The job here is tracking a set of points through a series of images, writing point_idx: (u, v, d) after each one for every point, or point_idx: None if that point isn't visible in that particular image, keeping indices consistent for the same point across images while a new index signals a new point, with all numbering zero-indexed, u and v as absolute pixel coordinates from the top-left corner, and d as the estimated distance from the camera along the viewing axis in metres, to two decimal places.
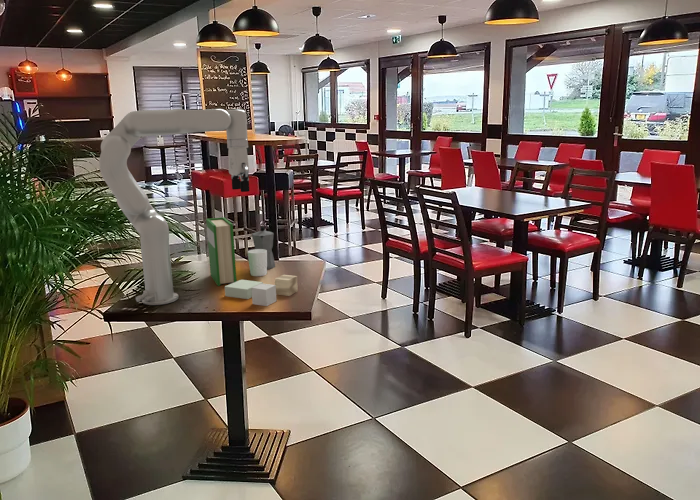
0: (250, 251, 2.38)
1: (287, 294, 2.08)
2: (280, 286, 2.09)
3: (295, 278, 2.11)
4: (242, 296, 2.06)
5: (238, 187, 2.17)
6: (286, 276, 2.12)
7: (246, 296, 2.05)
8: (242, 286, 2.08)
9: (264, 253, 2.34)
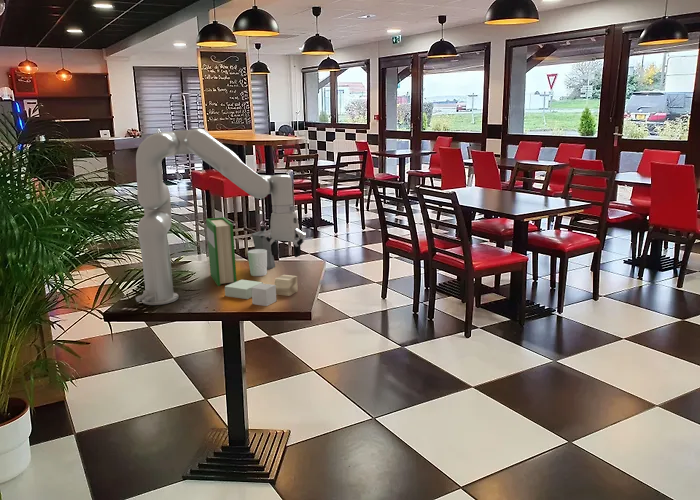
0: (250, 251, 2.38)
1: (287, 294, 2.08)
2: (280, 286, 2.09)
3: (295, 278, 2.11)
4: (242, 296, 2.06)
5: None
6: (286, 276, 2.12)
7: (245, 296, 2.05)
8: (242, 286, 2.08)
9: (264, 253, 2.34)
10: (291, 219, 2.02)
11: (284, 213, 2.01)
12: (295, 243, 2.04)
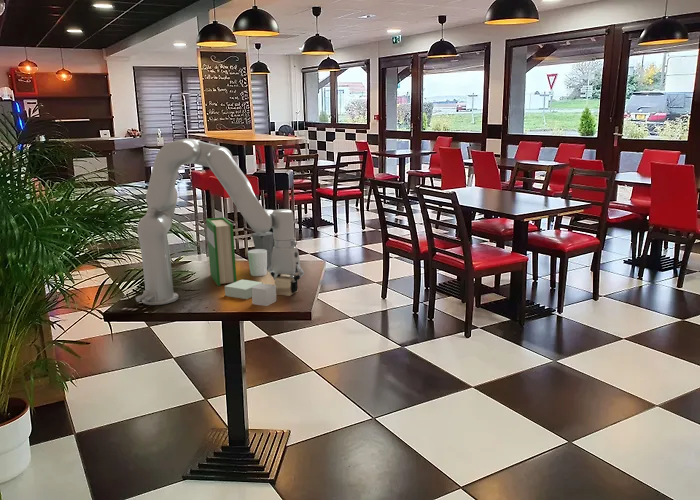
0: (250, 251, 2.38)
1: (287, 294, 2.08)
2: (280, 285, 2.09)
3: None
4: (241, 296, 2.06)
5: None
6: (286, 276, 2.12)
7: (245, 296, 2.05)
8: (242, 286, 2.08)
9: (264, 253, 2.34)
10: (292, 254, 2.05)
11: (285, 248, 2.04)
12: (293, 279, 2.08)
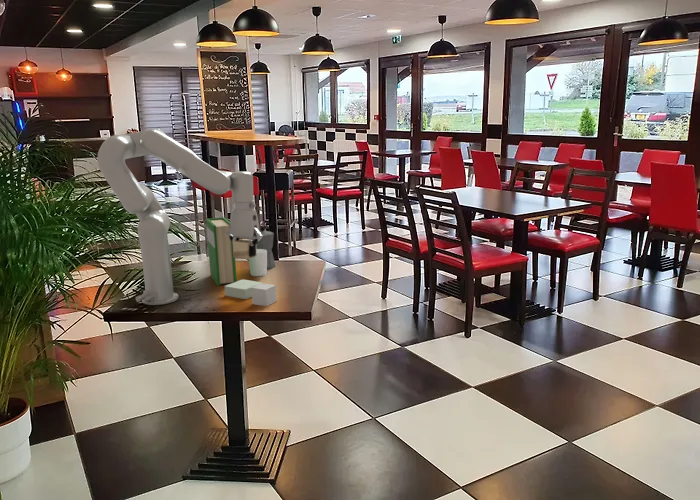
0: None
1: (245, 257, 2.05)
2: (238, 249, 2.05)
3: None
4: (241, 296, 2.06)
5: None
6: (245, 240, 2.09)
7: (244, 296, 2.05)
8: (241, 286, 2.08)
9: (264, 253, 2.34)
10: (250, 216, 2.02)
11: (243, 210, 2.01)
12: (251, 242, 2.04)
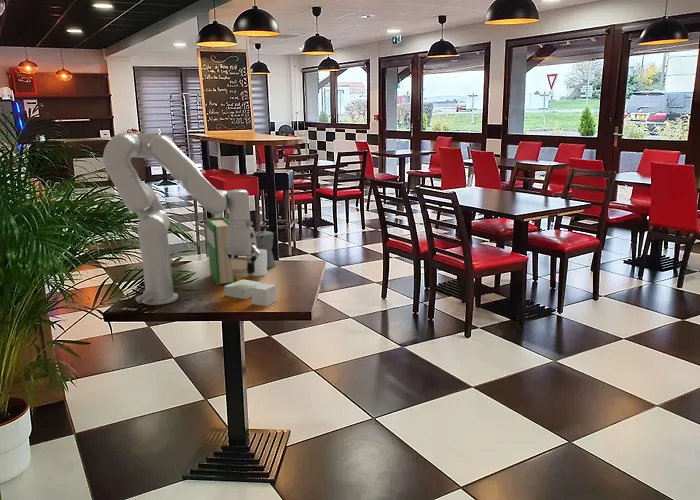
0: None
1: (244, 275, 2.06)
2: (237, 266, 2.07)
3: None
4: (240, 296, 2.06)
5: None
6: (243, 257, 2.10)
7: (244, 296, 2.05)
8: (241, 286, 2.08)
9: (264, 253, 2.34)
10: (247, 234, 2.03)
11: (240, 228, 2.02)
12: (249, 260, 2.06)
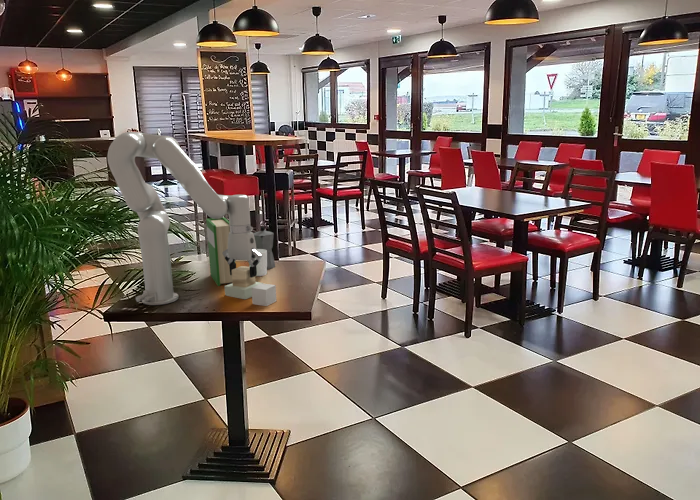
0: None
1: (244, 285, 2.07)
2: (237, 277, 2.08)
3: None
4: (240, 296, 2.06)
5: None
6: (243, 267, 2.11)
7: (243, 297, 2.05)
8: None
9: (264, 253, 2.34)
10: (248, 239, 2.04)
11: (241, 233, 2.03)
12: (251, 263, 2.06)
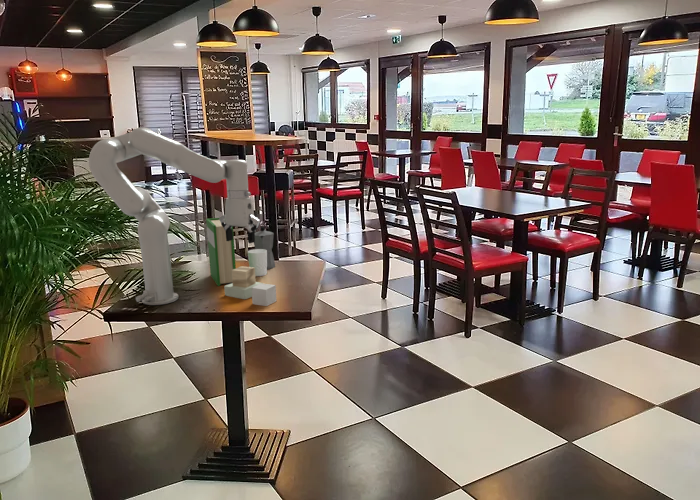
0: (250, 251, 2.38)
1: (244, 286, 2.07)
2: (237, 277, 2.08)
3: (253, 269, 2.10)
4: (240, 296, 2.06)
5: None
6: (243, 267, 2.11)
7: (243, 297, 2.05)
8: None
9: (264, 253, 2.34)
10: (245, 205, 2.01)
11: (238, 198, 2.00)
12: (249, 229, 2.03)
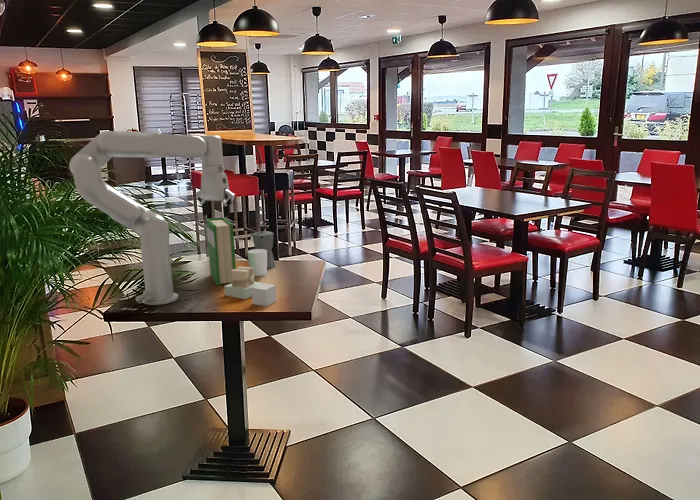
0: (250, 251, 2.38)
1: (244, 286, 2.07)
2: (237, 277, 2.07)
3: (252, 269, 2.10)
4: (240, 296, 2.06)
5: None
6: (242, 268, 2.11)
7: (243, 296, 2.05)
8: None
9: (264, 253, 2.34)
10: (220, 179, 2.06)
11: (213, 173, 2.05)
12: (224, 203, 2.08)
